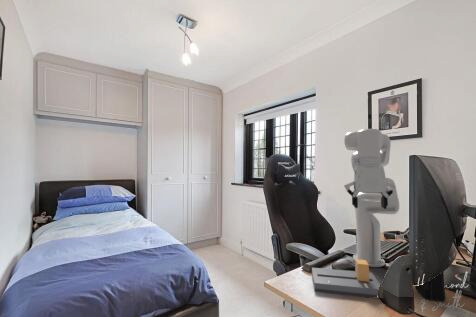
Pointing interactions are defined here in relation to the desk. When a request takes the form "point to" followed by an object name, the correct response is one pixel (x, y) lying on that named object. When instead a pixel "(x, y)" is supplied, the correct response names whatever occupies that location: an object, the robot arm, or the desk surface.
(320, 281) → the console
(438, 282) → the portable radio
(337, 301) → the desk surface
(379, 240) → the robot arm
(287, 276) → the desk surface
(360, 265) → the fader tab
